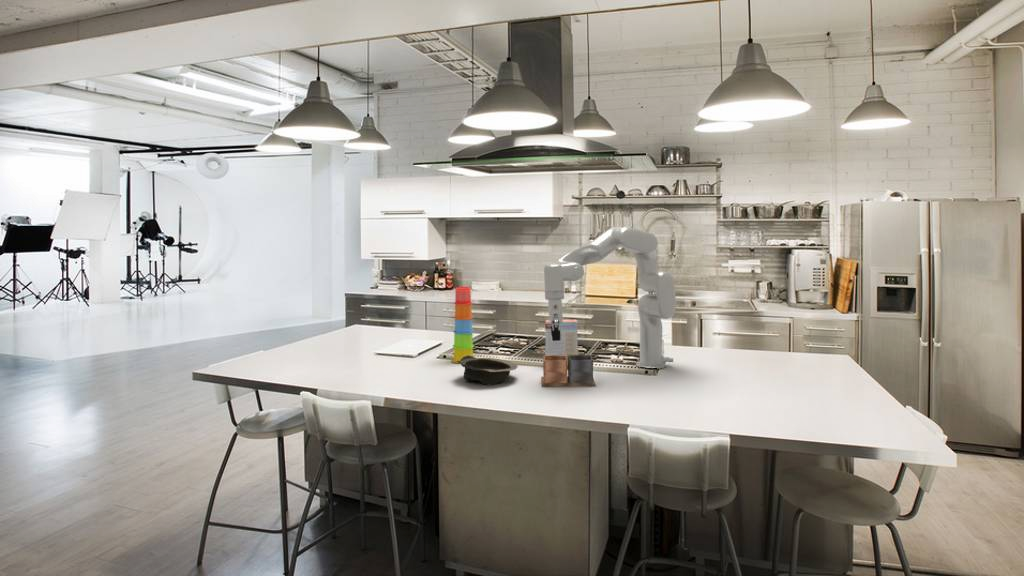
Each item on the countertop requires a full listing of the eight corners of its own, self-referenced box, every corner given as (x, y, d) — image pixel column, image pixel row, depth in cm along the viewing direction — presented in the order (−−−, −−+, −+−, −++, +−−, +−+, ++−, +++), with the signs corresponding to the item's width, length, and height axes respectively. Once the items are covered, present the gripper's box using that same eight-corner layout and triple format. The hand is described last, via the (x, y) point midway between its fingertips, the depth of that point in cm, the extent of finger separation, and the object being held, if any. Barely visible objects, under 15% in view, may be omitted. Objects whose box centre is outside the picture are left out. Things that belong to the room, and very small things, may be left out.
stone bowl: (444, 381, 247) (445, 359, 246) (484, 373, 266) (485, 352, 266) (491, 390, 232) (491, 366, 231) (530, 381, 251) (530, 358, 251)
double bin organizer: (592, 378, 248) (592, 354, 246) (595, 386, 237) (595, 360, 236) (541, 379, 248) (540, 354, 247) (541, 386, 237) (541, 361, 236)
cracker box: (577, 365, 271) (577, 319, 268) (577, 368, 265) (577, 321, 262) (546, 365, 272) (545, 319, 270) (545, 368, 266) (545, 321, 264)
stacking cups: (476, 358, 287) (474, 285, 283) (472, 363, 277) (470, 288, 273) (454, 358, 288) (452, 286, 284) (450, 363, 278) (448, 288, 274)
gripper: (565, 297, 230) (566, 342, 232) (562, 291, 247) (564, 333, 249) (545, 298, 230) (546, 342, 232) (544, 292, 247) (545, 333, 250)
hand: (555, 337), depth 241 cm, fingers open, 9 cm apart
